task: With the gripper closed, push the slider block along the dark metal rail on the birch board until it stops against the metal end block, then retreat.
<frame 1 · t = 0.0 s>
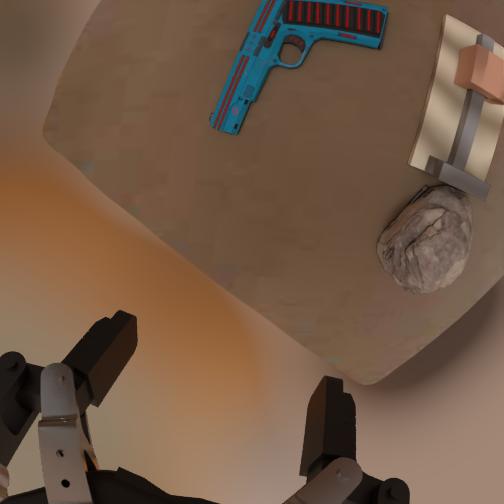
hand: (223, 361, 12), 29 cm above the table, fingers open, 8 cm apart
rock: (426, 230, 37), on the table
rail board: (466, 104, 28), on the table
handgun: (302, 63, 31), on the table
slider block: (485, 75, 23), point 4 cm above the table, slide at 0.0 cm
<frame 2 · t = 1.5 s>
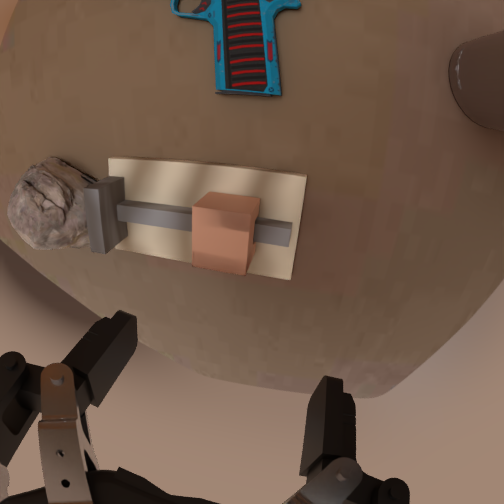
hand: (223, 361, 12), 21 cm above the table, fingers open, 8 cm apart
rock: (75, 203, 36), on the table
rail board: (198, 212, 32), on the table
handgun: (187, 18, 24), on the table
slider block: (226, 231, 29), point 4 cm above the table, slide at 0.0 cm
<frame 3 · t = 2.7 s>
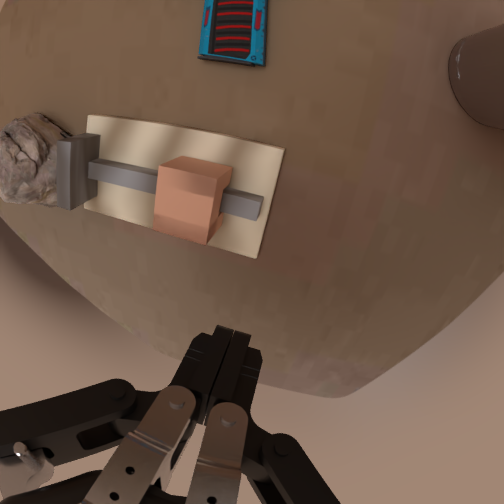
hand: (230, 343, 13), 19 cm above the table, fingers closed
rock: (53, 161, 32), on the table
rail board: (169, 177, 30), on the table
slider block: (192, 197, 27), point 4 cm above the table, slide at 0.0 cm
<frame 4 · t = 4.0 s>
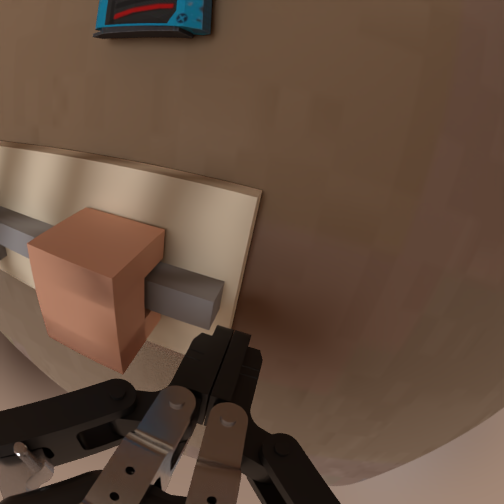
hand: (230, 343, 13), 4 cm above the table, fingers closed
rail board: (83, 236, 18), on the table
slider block: (99, 287, 14), point 4 cm above the table, slide at 0.0 cm
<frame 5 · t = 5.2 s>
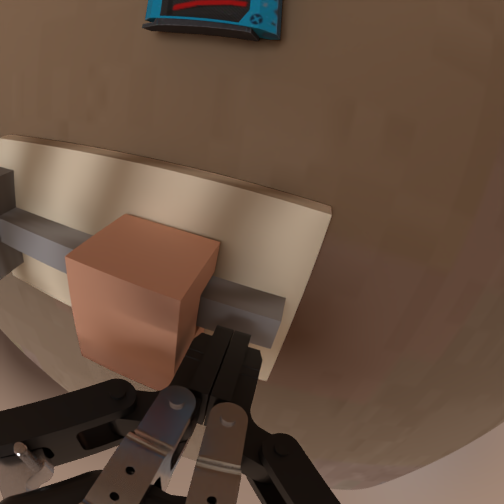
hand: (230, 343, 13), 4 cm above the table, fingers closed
rail board: (119, 245, 17), on the table
slider block: (144, 303, 13), point 4 cm above the table, slide at 0.3 cm, touching gripper
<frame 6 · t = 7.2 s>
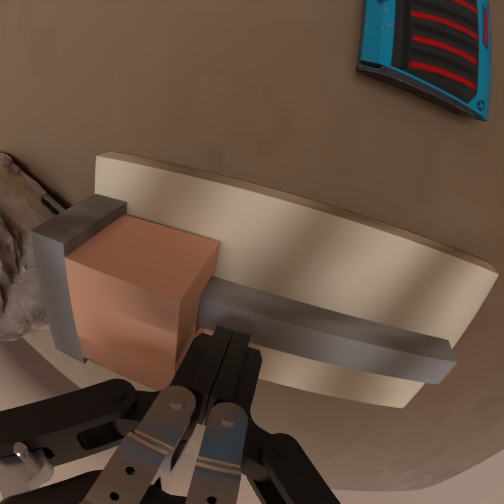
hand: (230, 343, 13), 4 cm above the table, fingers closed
rock: (37, 237, 19), on the table
rail board: (280, 297, 16), on the table
slider block: (144, 303, 14), point 4 cm above the table, slide at 9.9 cm, touching gripper, rail board
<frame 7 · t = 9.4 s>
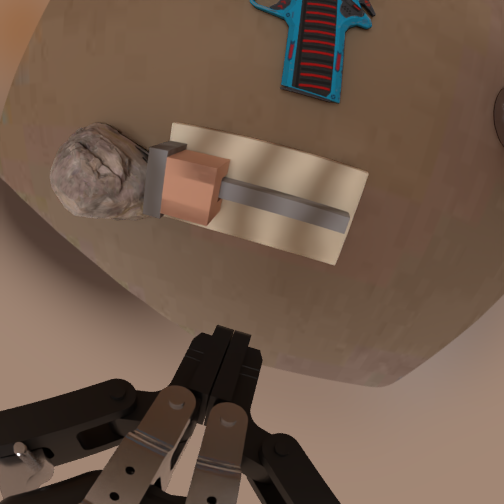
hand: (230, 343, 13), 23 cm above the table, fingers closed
rock: (119, 173, 36), on the table, touching rail board
rail board: (258, 190, 33), on the table
handgun: (260, 11, 25), on the table
slider block: (195, 185, 31), point 4 cm above the table, slide at 9.9 cm
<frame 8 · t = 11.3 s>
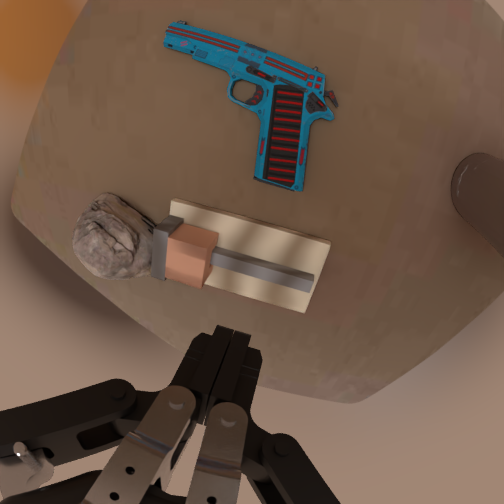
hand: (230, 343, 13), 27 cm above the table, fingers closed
rock: (129, 235, 45), on the table
rail board: (242, 255, 42), on the table
handgun: (238, 101, 34), on the table
slider block: (191, 255, 39), point 4 cm above the table, slide at 9.9 cm
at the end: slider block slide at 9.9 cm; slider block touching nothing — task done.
